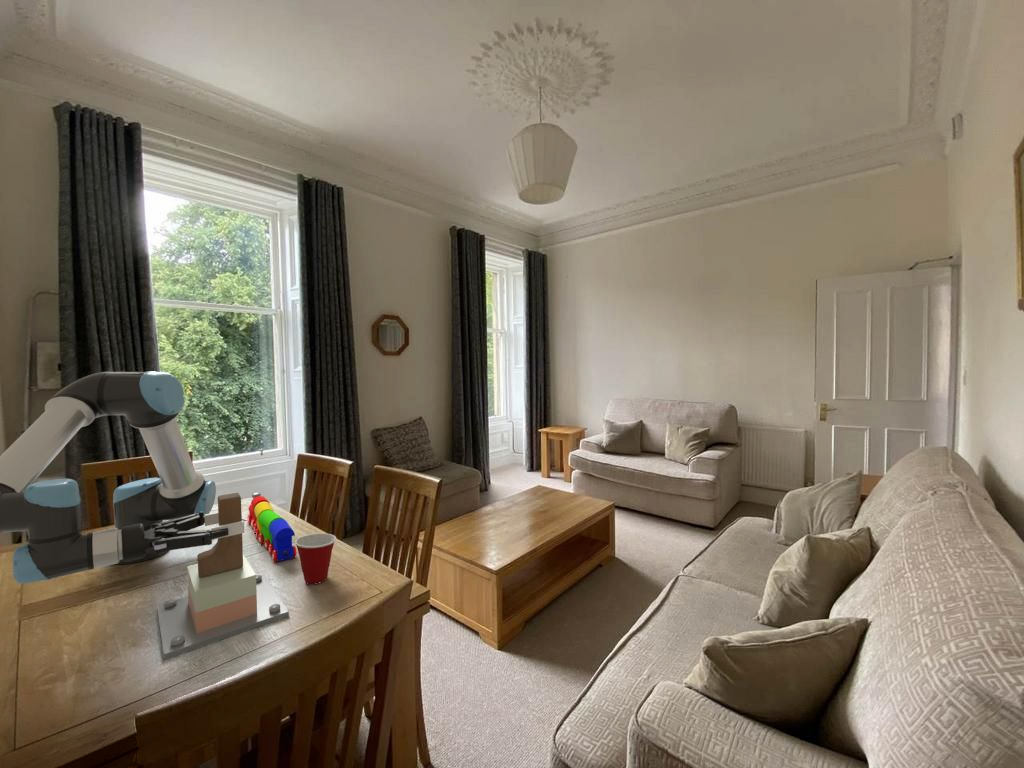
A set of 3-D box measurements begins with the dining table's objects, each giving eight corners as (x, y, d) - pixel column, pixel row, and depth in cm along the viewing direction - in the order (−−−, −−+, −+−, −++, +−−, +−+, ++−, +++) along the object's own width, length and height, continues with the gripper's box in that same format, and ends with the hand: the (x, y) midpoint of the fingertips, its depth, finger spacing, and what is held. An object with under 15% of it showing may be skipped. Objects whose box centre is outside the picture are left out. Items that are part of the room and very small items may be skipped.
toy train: (243, 523, 168) (242, 493, 167) (264, 518, 173) (264, 490, 172) (274, 565, 134) (273, 529, 134) (300, 558, 139) (299, 523, 139)
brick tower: (157, 609, 110) (155, 567, 110) (264, 578, 126) (263, 541, 126) (164, 659, 92) (162, 609, 92) (288, 616, 108) (287, 573, 108)
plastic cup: (345, 575, 129) (344, 534, 128) (314, 593, 119) (313, 549, 118) (318, 567, 133) (317, 528, 132) (286, 583, 123) (285, 541, 123)
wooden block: (199, 578, 105) (196, 503, 103) (197, 571, 108) (195, 498, 107) (243, 567, 110) (241, 496, 109) (240, 561, 114) (238, 492, 113)
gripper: (121, 544, 105) (231, 522, 120) (121, 581, 88) (249, 550, 102) (120, 513, 104) (230, 494, 119) (120, 545, 87) (248, 518, 102)
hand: (239, 520), depth 111 cm, fingers open, 10 cm apart
